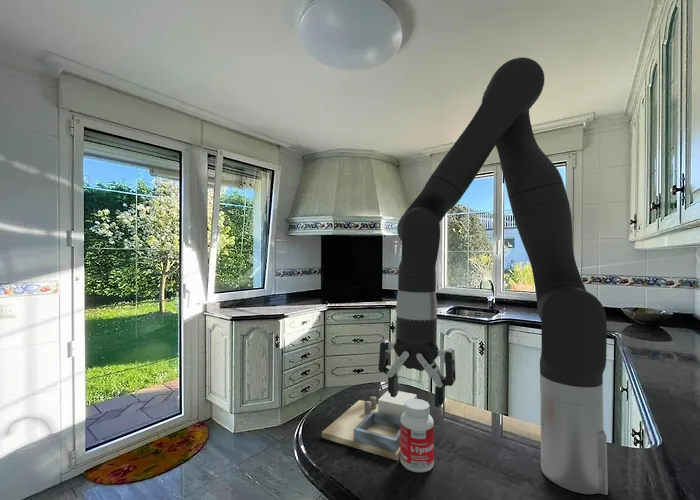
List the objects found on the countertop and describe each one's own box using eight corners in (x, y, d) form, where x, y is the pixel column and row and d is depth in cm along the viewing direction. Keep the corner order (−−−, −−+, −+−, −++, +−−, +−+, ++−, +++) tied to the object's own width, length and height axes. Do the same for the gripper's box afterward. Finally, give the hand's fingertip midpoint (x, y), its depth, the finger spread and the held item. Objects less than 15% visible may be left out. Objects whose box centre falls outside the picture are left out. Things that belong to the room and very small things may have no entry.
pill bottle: (409, 477, 58) (409, 413, 58) (394, 456, 64) (394, 399, 64) (440, 470, 60) (440, 408, 60) (423, 451, 66) (423, 395, 66)
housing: (416, 413, 79) (416, 394, 79) (407, 427, 73) (407, 406, 73) (389, 407, 82) (389, 389, 82) (378, 419, 76) (378, 399, 76)
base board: (423, 419, 79) (423, 403, 79) (397, 460, 63) (397, 440, 63) (359, 404, 87) (359, 390, 87) (321, 437, 71) (321, 420, 71)
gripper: (459, 315, 63) (458, 401, 62) (388, 308, 69) (387, 386, 69) (450, 322, 56) (449, 418, 56) (373, 313, 63) (372, 399, 63)
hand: (415, 400), depth 63 cm, fingers open, 8 cm apart
